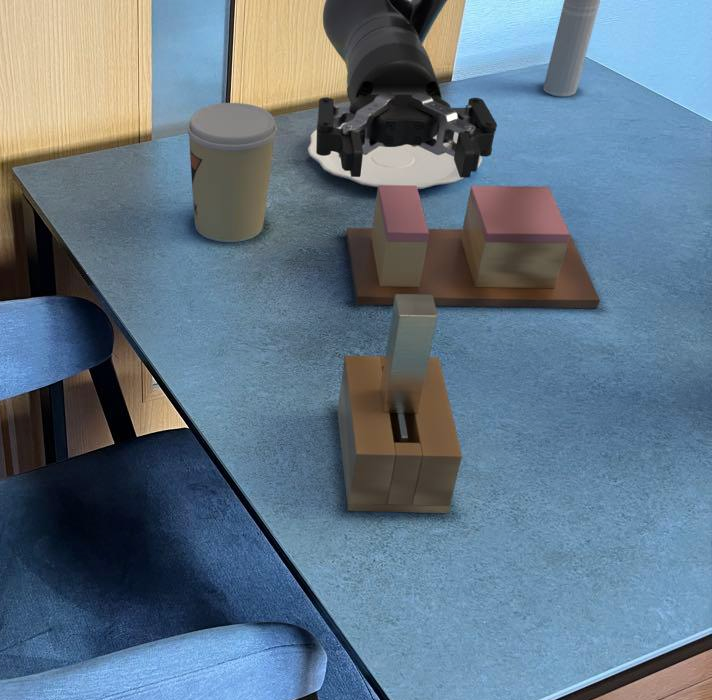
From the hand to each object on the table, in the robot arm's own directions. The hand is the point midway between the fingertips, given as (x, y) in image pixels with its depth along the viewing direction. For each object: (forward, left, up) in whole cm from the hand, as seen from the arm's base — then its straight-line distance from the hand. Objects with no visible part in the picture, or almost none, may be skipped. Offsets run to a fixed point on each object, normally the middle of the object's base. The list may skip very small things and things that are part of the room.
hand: (412, 166), depth 80 cm
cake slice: (-3, -20, -20) cm, 28 cm away
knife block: (0, +11, -21) cm, 23 cm away
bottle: (-31, -68, -21) cm, 78 cm away
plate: (-6, -46, -21) cm, 51 cm away
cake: (-12, -20, -21) cm, 31 cm away
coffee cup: (+14, -29, -21) cm, 38 cm away
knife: (0, +11, -20) cm, 22 cm away
